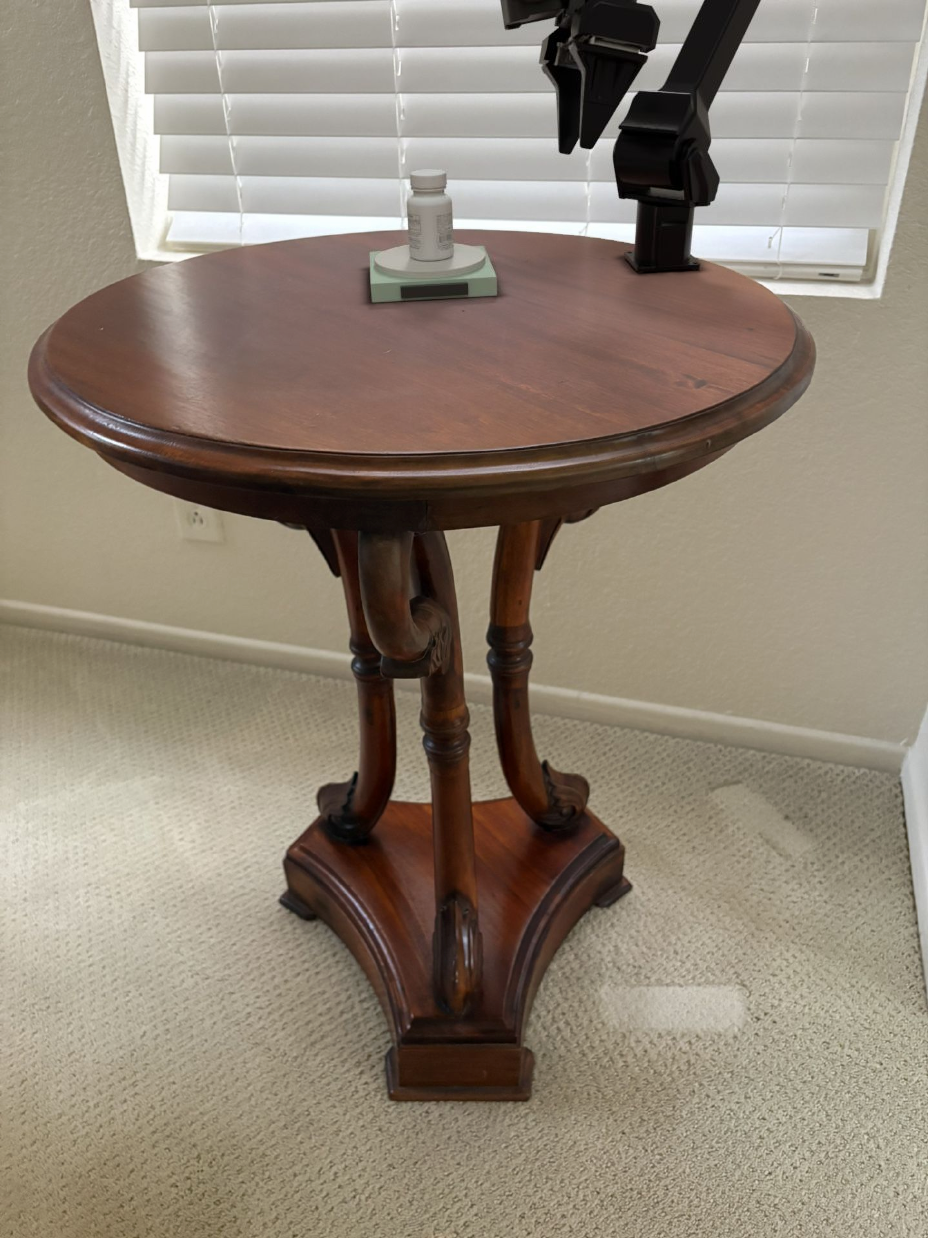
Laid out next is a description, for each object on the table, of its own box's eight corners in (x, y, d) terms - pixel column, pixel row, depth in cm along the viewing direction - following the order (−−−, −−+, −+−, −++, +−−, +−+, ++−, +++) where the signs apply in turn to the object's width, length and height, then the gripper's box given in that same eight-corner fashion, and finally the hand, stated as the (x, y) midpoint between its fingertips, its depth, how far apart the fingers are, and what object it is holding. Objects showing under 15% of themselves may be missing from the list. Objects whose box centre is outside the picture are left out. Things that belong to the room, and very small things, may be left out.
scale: (370, 269, 106) (368, 244, 104) (484, 263, 106) (483, 238, 105) (372, 303, 95) (369, 277, 94) (497, 296, 96) (497, 270, 95)
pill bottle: (455, 249, 101) (452, 166, 97) (452, 261, 98) (449, 175, 93) (411, 250, 102) (406, 167, 97) (407, 262, 98) (402, 176, 94)
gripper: (500, -52, 89) (471, 140, 95) (535, -113, 72) (498, 126, 78) (620, -26, 91) (585, 161, 96) (682, -80, 74) (636, 152, 79)
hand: (574, 151), depth 87 cm, fingers open, 9 cm apart
